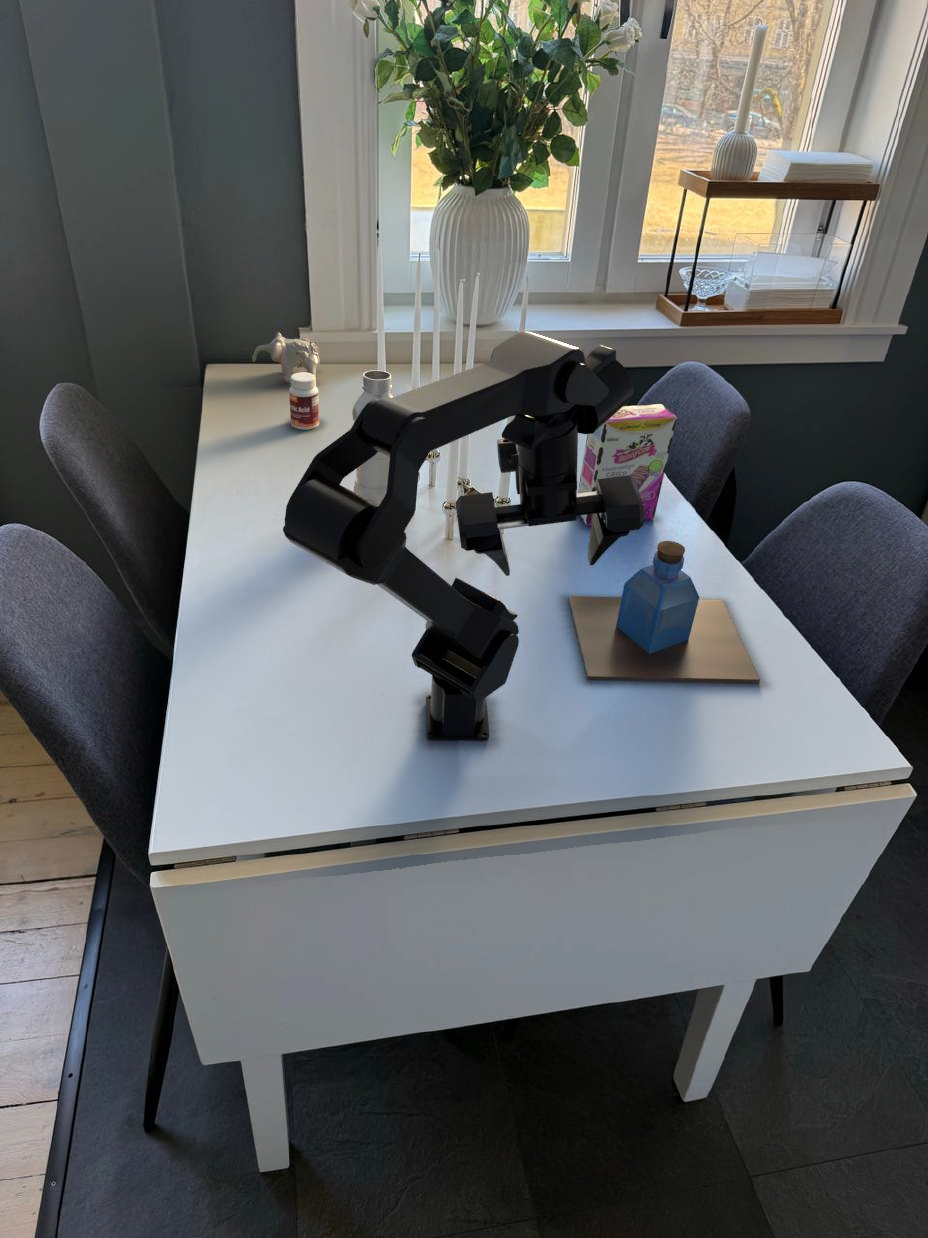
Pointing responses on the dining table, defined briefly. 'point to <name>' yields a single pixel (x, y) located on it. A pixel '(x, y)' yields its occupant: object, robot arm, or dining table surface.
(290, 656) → the dining table surface
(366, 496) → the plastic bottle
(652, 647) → the perfume bottle
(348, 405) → the dining table surface
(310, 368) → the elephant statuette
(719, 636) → the walnut board
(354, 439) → the robot arm
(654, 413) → the candy bar box
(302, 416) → the pill bottle
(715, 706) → the dining table surface
